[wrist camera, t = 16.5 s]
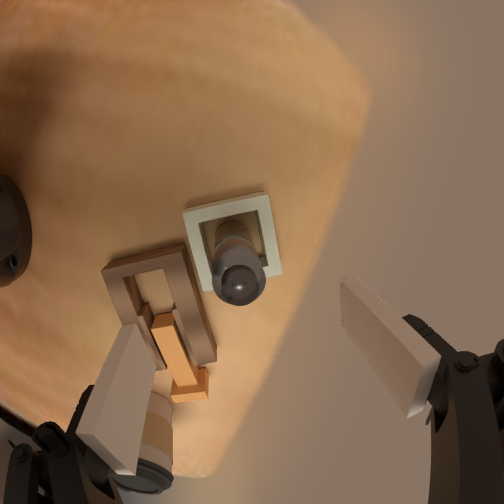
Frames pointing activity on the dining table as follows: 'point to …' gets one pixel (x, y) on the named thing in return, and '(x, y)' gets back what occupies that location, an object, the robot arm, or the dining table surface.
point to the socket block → (184, 294)
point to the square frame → (228, 208)
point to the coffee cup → (152, 452)
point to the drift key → (179, 361)
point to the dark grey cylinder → (236, 266)
